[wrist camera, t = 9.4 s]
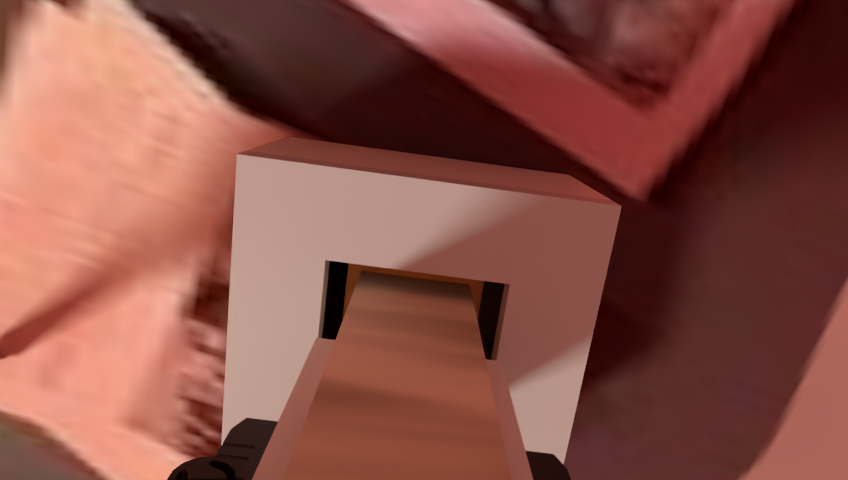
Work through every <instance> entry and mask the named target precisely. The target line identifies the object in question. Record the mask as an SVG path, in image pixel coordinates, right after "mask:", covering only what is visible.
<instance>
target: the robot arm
mask: <svg viewBox="0 0 848 480" xmlns="http://www.w3.org/2000/svg"><path fill="white" fill-rule="evenodd" d="M334 342H335V340H331V339H323V338H316V339H315V342H314V344H313V346H312V348H311V350H310V353H309V355H308V357H307V359H306V361H305V364H304V366H303V368H302V370H301V373H300V375H299V377H298V379H297V381H296V384H295V386H294V388H293V390H292V392H291V395H290V397H289V399H288V401H287V403H286V406H285V408H284V410H283V412H282V414H281V417H280V419H279V421H270V420H262V419H253V418H245V419H244V420H243V421H241V422H240V423H238V424H237V425H236V426H234V427H233V428H231V430H230V432H229V433H228V435H227V437H226V438H225V440H224V442H223V445H221V447H220V449H219V450H218V452H217V454H216V457H214V456H209V457H200V458H195V459H193V460H190V461H187V462H184V463H183V464H181V465H180V466H178V467H177V468H176V469H174V470H173V471H172V473H171V474H170V476H169V477H168V479H167V480H283V479H284V476H285V473H286V471H287V468H288V465H289V463H290V460H291V457H292V455H293V452H294V449H295V447H296V444H297V441H298V439H299V436H300V433H301V431H302V428H303V425H304V423H305V420H306V417H307V415H308V412H309V409H310V407H311V404H312V401H313V399H314V396H315V393H316V391H317V388H318V385H319V383H320V380H321V377H322V374H323V372H324V369H325V366H326V364H327V361H328V358H329V356H330V353H331V350H332V348H333V345H334ZM486 363H487V368H488V373H489V377H490V382H491V387H492V391H493V396H494V401H495V405H496V410H497V414H498V419H499V424H500V428H501V433H502V438H503V442H504V447H505V452H506V456H507V461H508V466H509V470H510V475H511V480H571V479H570V476H569V473H568V471H567V468H566V467H565V466H564V465H563V464H562V463H561V462H560V461H559V459H558V458H557V457H556V456H555V455H554V454H549V453H541V452H533V451H525V447H524V444H523V440H522V436H521V432H520V429H519V425H518V421H517V418H516V414H515V410H514V407H513V403H512V399H511V395H510V392H509V388H508V384H507V381H506V377H505V373H504V370H503V366H502V362H501V361H495V360H487V359H486Z"/></svg>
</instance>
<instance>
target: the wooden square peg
mask: <svg viewBox="0 0 848 480" xmlns="http://www.w3.org/2000/svg"><path fill="white" fill-rule="evenodd" d="M283 480H511V475H510V470H509V466H508V461H507V456H506V452H505V447H504V442H503V438H502V433H501V428H500V424H499V419H498V414H497V410H496V405H495V401H494V396H493V391H492V387H491V382H490V377H489V373H488V368H487V363H486V359H485V354H484V349H483V345H482V340H481V335H480V331H479V326H478V321H477V317H476V312H475V307H474V303H473V298H472V293H471V289H470V285H468V284H460V283H452V282H445V281H437V280H429V279H422V278H414V277H406V276H399V275H391V274H383V273H376V272H368V271H361V273H360V276H359V278H358V281H357V284H356V286H355V289H354V292H353V294H352V297H351V300H350V302H349V305H348V308H347V310H346V313H345V316H344V318H343V321H342V324H341V326H340V329H339V332H338V334H337V337H336V340H335V342H334V345H333V348H332V350H331V353H330V356H329V358H328V361H327V364H326V366H325V369H324V372H323V374H322V377H321V380H320V383H319V385H318V388H317V391H316V393H315V396H314V399H313V401H312V404H311V407H310V409H309V412H308V415H307V417H306V420H305V423H304V425H303V428H302V431H301V433H300V436H299V439H298V441H297V444H296V447H295V449H294V452H293V455H292V457H291V460H290V463H289V465H288V468H287V471H286V473H285V476H284V479H283Z"/></svg>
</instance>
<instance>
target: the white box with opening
mask: <svg viewBox="0 0 848 480" xmlns="http://www.w3.org/2000/svg"><path fill="white" fill-rule="evenodd" d="M621 207H622V206H620V205H619V204H617V203H615V202H614V201H612V200H610V199H609V198H607V197H605V196H604V195H602V194H600V193H599V192H597V191H595V190H593V189H592V188H590V187H588V186H587V185H585V184H583V183H582V182H580V181H578V180H577V179H575V178H573V177H572V176H570V175H567V174H559V173H552V172H545V171H538V170H530V169H523V168H516V167H508V166H501V165H494V164H486V163H479V162H472V161H464V160H457V159H450V158H442V157H435V156H428V155H420V154H413V153H406V152H399V151H391V150H384V149H377V148H369V147H362V146H355V145H347V144H340V143H333V142H325V141H318V140H311V139H303V138H296V137H288V138H285V139H281V140H278V141H275V142H272V143H269V144H266V145H263V146H260V147H257V148H254V149H251V150H248V151H245V152H242V153H239V154H237V160H236V179H235V198H234V217H233V235H232V254H231V273H230V292H229V311H228V330H227V348H226V367H225V386H224V405H223V424H222V443H221V445H223V442H224V440H225V438H226V437H227V435H228V433H229V432H230V430H231V428H233V427H234V426H236V425H237V424H238V423H240V422H241V421H243V420H244V419H245V418H253V419H262V420H270V421H279V419H280V417H281V414H282V412H283V410H284V408H285V406H286V403H287V401H288V399H289V397H290V395H291V392H292V390H293V388H294V386H295V384H296V381H297V379H298V377H299V375H300V373H301V370H302V368H303V366H304V364H305V361H306V359H307V357H308V355H309V353H310V350H311V348H312V346H313V344H314V342H315V339H316V338H322V334H323V324H324V314H325V303H326V293H327V283H328V273H329V263H330V261H336V262H344V263H352V264H359V265H367V266H374V267H382V268H390V269H397V270H405V271H413V272H420V273H428V274H435V275H443V276H451V277H458V278H466V279H473V280H481V281H489V282H496V283H504V290H503V295H502V301H501V306H500V312H499V317H498V323H497V329H496V334H495V340H494V345H493V351H492V356H491V360H495V361H501V362H502V366H503V370H504V373H505V377H506V381H507V384H508V388H509V392H510V395H511V399H512V403H513V407H514V410H515V414H516V418H517V421H518V425H519V429H520V432H521V436H522V440H523V444H524V447H525V451H533V452H541V453H549V454H554V455H555V456H556V457H557V458H558V459H559V461H560V462H561V463H562V464H564V460H565V456H566V451H567V447H568V442H569V438H570V433H571V429H572V425H573V420H574V416H575V411H576V407H577V402H578V398H579V393H580V389H581V385H582V380H583V376H584V371H585V367H586V362H587V358H588V354H589V349H590V345H591V340H592V336H593V331H594V327H595V323H596V318H597V314H598V309H599V305H600V300H601V296H602V292H603V287H604V283H605V278H606V274H607V269H608V265H609V260H610V256H611V252H612V247H613V243H614V238H615V234H616V229H617V225H618V221H619V216H620V212H621Z"/></svg>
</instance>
